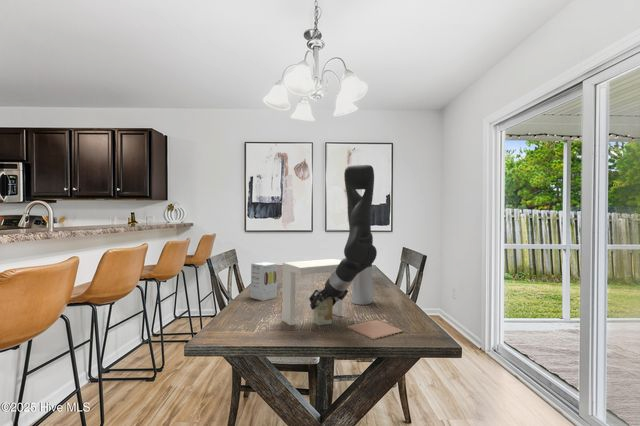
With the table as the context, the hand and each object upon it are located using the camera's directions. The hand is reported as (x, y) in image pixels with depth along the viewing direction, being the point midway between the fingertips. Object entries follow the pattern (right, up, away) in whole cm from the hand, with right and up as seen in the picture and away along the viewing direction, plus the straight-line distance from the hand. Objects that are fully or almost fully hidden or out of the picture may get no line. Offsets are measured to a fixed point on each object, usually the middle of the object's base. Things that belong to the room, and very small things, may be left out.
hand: (321, 305), depth 133 cm
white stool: (-1, -6, +2) cm, 7 cm away
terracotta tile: (+19, -6, -8) cm, 22 cm away
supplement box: (-28, -6, +36) cm, 46 cm away
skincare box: (+1, -6, -1) cm, 7 cm away
